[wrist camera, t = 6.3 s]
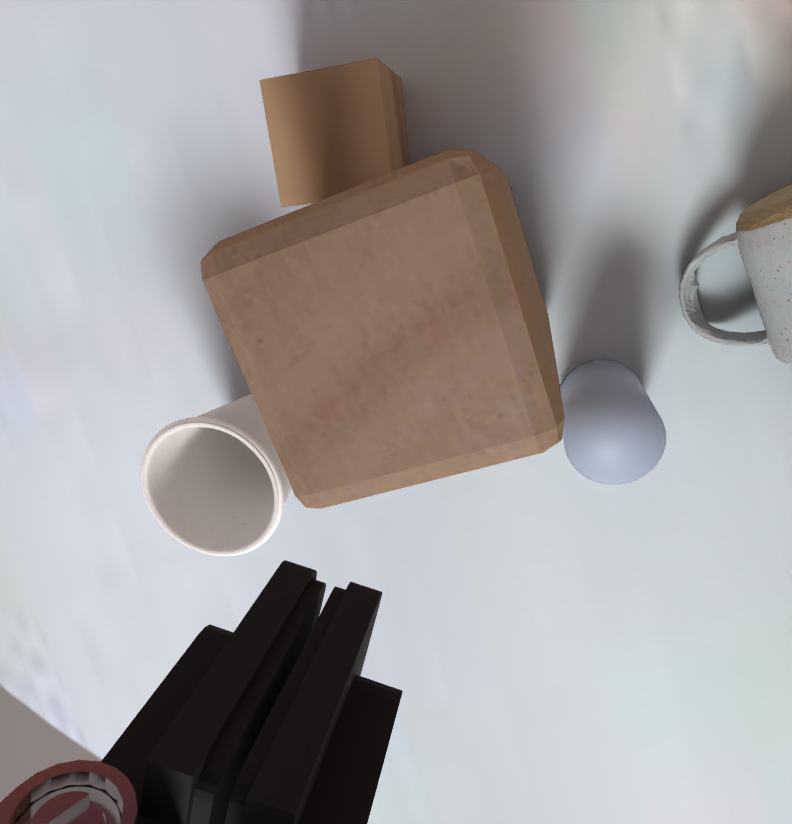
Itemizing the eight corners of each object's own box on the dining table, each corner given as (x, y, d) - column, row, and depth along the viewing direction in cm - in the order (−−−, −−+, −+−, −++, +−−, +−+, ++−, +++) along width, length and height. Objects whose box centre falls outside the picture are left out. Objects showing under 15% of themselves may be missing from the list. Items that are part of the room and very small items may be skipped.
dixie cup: (356, 419, 43) (310, 482, 34) (293, 504, 46) (235, 584, 37) (255, 344, 43) (180, 388, 34) (198, 435, 46) (115, 498, 37)
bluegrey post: (655, 371, 39) (681, 409, 32) (626, 446, 40) (645, 495, 34) (572, 350, 39) (581, 382, 33) (548, 424, 41) (551, 469, 34)
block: (343, 222, 39) (177, 255, 21) (502, 160, 36) (477, 133, 18) (398, 374, 42) (295, 525, 23) (552, 327, 39) (575, 456, 20)
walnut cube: (400, 77, 36) (377, 58, 30) (413, 190, 38) (393, 191, 32) (299, 95, 37) (259, 79, 32) (316, 203, 39) (281, 206, 34)
